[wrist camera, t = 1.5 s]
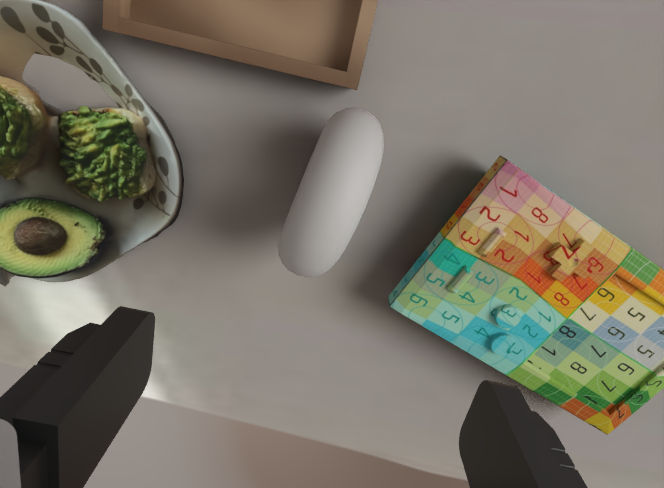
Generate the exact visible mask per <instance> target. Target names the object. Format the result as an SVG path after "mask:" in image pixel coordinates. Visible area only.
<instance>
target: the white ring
mask: <svg viewBox="0 0 664 488" xmlns="http://www.w3.org/2000/svg"><path fill="white" fill-rule="evenodd" d="M383 150H384V144H383V131H382V129H381V126H380V123H379V122H378V121H377V119H376V118H375V117H374V116H373V115H372V114H370V113H369V112H367V111H366V110H362V109H359V108H347V109H344V110H342V111H339V112H337V113H336V114H334V115H333V116H332V117H331V118H330V119H329V120H328V122H327V123H326V125H325V127H324V128H323V131H322V133H321V135H320V137H319V139H318V142H317V144H316V147H315V149H314V151H313V154H312V156H311V158H310V161H309V163H308V166H307V168H306V171H305V173H304V176H303V178H302V180H301V183H300V185H299V188H298V190H297V193H296V195H295V198H294V200H293V203H292V206H291V208H290V211H289V213H288V216H287V218H286V221H285V224H284V226H283V229H282V232H281V235H280V239H279V243H278V253H279V257H280V259H281V261H282V264H283V265H284V266H285V267H286V268H287V269H288V270H289V271H291V272H293V273H294V274H296V275H299V276H304V277H316V276H319V275H321V274H323V273H326V272H327V271H328V270H329V269H330V268H331V267H332V266H333V265H334V264H335V263H336V262H337V261H338V260H339V258H340V256H341V255H342V253H343V252H344V250H345V249H346V247H347V245H348V243H349V241H350V239H351V237H352V235H353V234H354V232H355V230H356V228H357V225H358V223H359V221H360V219H361V216H362V214H363V212H364V210H365V207H366V205H367V202H368V200H369V197H370V195H371V192H372V189H373V187H374V184H375V181H376V178H377V175H378V171H379V168H380V165H381V160H382V155H383Z"/></svg>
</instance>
